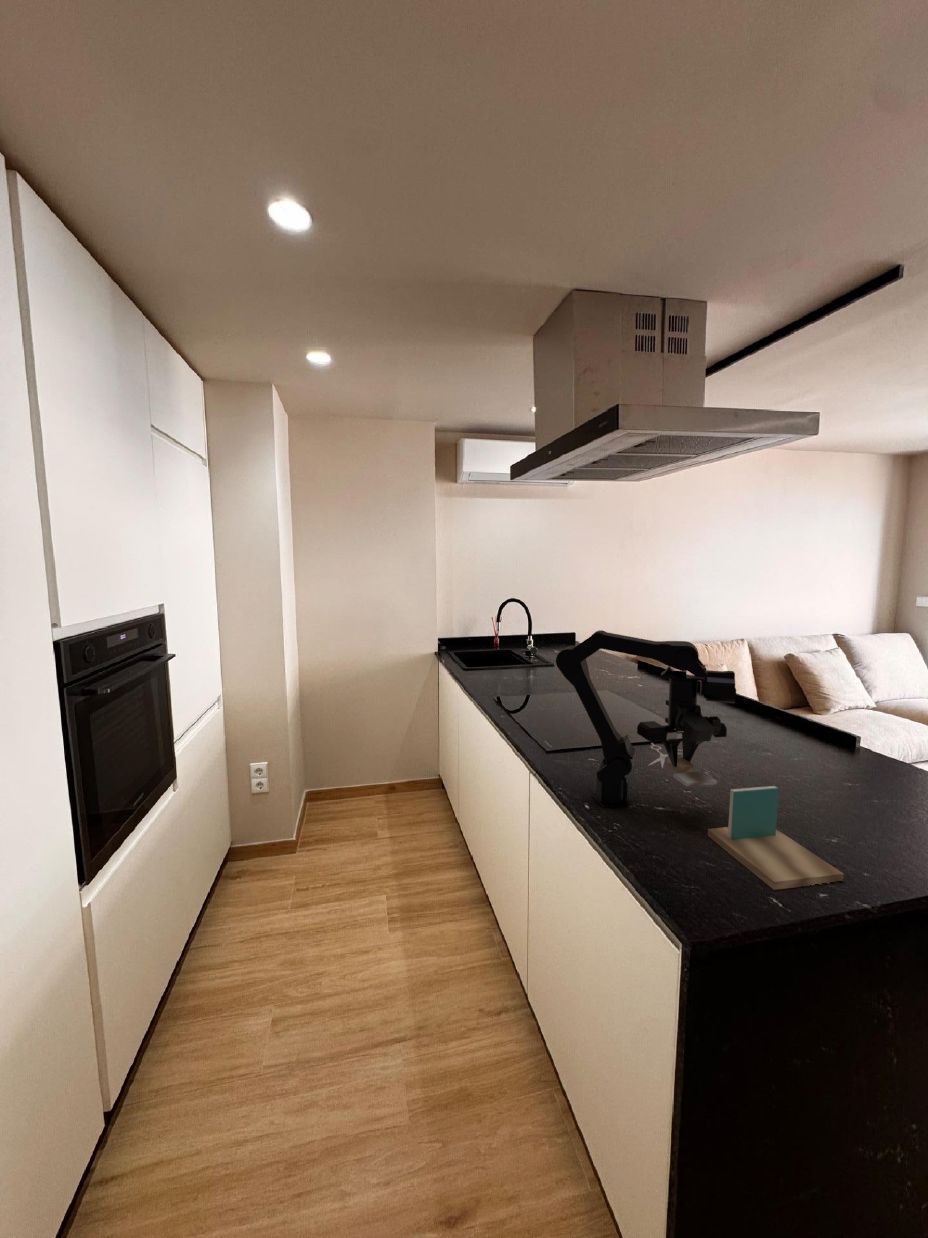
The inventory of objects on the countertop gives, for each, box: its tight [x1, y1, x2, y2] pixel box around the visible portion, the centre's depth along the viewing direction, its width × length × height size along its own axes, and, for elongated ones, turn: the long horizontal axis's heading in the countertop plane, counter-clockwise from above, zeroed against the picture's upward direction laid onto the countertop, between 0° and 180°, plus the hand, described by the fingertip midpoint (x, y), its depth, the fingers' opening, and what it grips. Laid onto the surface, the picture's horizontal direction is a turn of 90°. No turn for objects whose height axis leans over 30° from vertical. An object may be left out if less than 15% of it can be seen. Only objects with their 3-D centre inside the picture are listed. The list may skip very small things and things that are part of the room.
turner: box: [667, 754, 718, 788], centre depth 111 cm, size 7×11×2 cm, turn 9°
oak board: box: [707, 826, 844, 891], centre depth 98 cm, size 14×18×2 cm
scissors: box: [647, 742, 683, 769], centre depth 149 cm, size 11×1×20 cm
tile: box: [727, 785, 780, 840], centre depth 102 cm, size 10×1×10 cm, turn 100°
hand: (680, 766), depth 114 cm, fingers closed on turner, 2 cm apart
